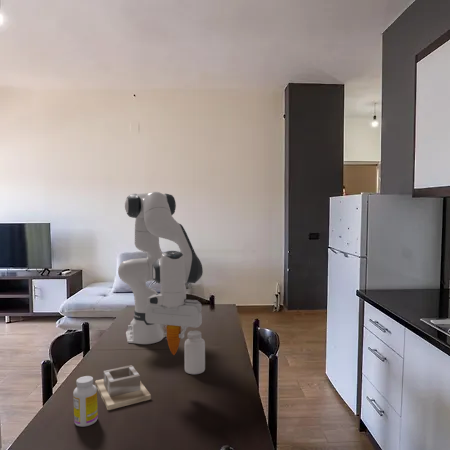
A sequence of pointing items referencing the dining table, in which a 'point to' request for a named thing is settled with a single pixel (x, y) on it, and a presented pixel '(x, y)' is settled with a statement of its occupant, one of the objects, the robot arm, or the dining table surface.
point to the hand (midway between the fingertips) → (173, 337)
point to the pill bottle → (194, 353)
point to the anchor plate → (121, 387)
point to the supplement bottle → (85, 402)
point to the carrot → (173, 337)
